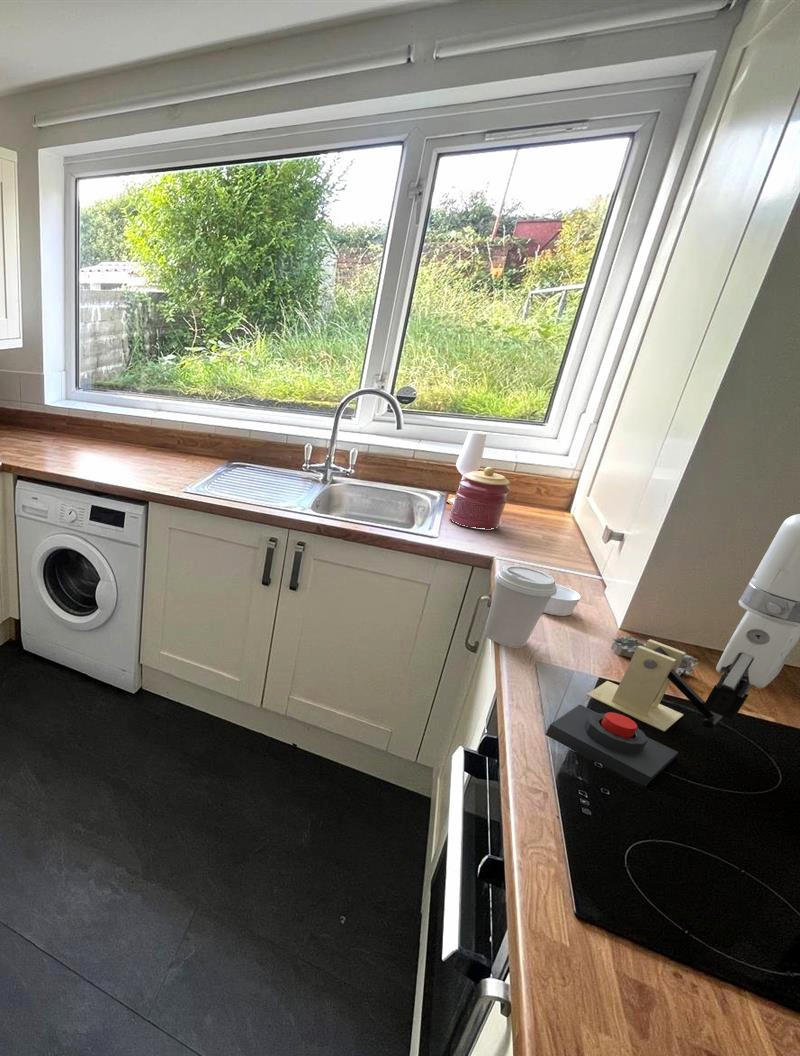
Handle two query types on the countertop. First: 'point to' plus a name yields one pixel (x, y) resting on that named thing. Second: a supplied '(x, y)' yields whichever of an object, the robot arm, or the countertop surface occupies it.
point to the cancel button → (619, 725)
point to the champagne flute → (471, 454)
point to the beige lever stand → (644, 686)
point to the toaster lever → (692, 696)
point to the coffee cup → (517, 604)
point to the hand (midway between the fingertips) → (718, 711)
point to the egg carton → (630, 645)
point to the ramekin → (562, 601)
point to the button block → (611, 745)
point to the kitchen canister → (480, 499)
